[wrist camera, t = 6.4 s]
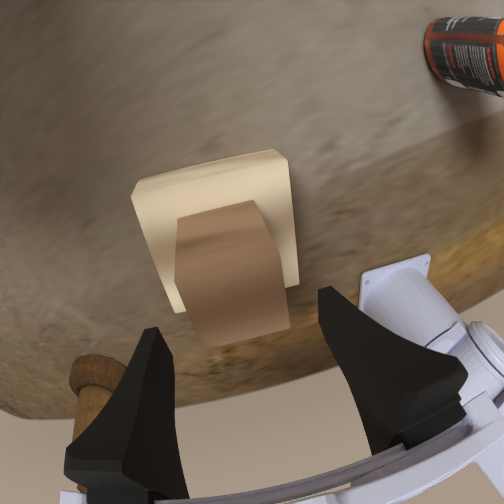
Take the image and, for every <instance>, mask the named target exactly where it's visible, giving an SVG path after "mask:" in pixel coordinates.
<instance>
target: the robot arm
mask: <svg viewBox="0 0 504 504" xmlns="http://www.w3.org/2000/svg"><path fill="white" fill-rule="evenodd" d="M430 259H431V257H430V255H429V254H424V255H420V256H417V257H414V258H411V259H407V260H404V261H401V262H398V263H394V264H391V265H387V266H384V267H381V268H377V269H374V270H370V271H367V272H364V273H363V274H362V276H361V283H360V294H359V304H358V308H357V307H356V306H355V305H353V304H352V303H351V302H350V301H348V300H347V299H346V298H345V297H344V296H342V295H341V294H340V293H339V292H338V291H337V290H335V289H334V288H333V287H332V286H329V287H325V288H322V289H318V321H319V324H320V327H321V329H322V332H323V335H324V337H325V340H326V342H327V344H328V346H329V348H330V349H331V351H332V353H333V355H334V357H335V359H336V361H337V363H338V365H339V366H340V368H341V370H342V372H343V374H344V376H345V378H346V380H347V382H348V384H349V387H350V389H351V392H352V395H353V397H354V400H355V402H356V406H357V408H358V411H359V414H360V417H361V420H362V423H363V426H364V429H365V432H366V436H367V439H368V443H369V446H370V449H371V454H372V456H371V457H368V458H365V459H363V460H360V461H358V462H355V463H352V464H350V465H347V466H344V467H341V468H338V469H335V470H332V471H329V472H326V473H323V474H319V475H316V476H313V477H309V478H306V479H302V480H299V481H295V482H290V483H286V484H282V485H278V486H273V487H269V488H264V489H259V490H253V491H248V492H242V493H236V494H229V495H222V496H215V497H205V498H195V499H190V497H189V494H188V490H187V487H186V483H185V479H184V474H183V470H182V465H181V461H180V456H179V450H178V443H177V436H176V429H175V412H174V411H175V374H174V364H173V355H172V353H171V352H170V350H169V348H168V346H167V344H166V342H165V340H164V338H163V337H162V335H161V333H160V331H159V329H158V327H153V328H148V329H145V330H144V331H143V334H142V336H141V338H140V340H139V343H138V345H137V347H136V349H135V352H134V354H133V356H132V358H131V360H130V362H129V364H128V366H127V368H126V370H125V372H124V374H123V376H122V378H121V380H120V382H119V384H118V385H117V387H116V389H115V391H114V392H113V394H112V395H111V397H110V398H109V400H108V402H107V403H106V404H105V406H104V407H103V409H102V410H101V411H100V413H99V414H98V415H97V416H96V418H95V419H94V420H93V421H92V423H91V424H90V425H89V426H88V427H87V428H86V429H85V430H84V431H83V432H82V433H81V434H80V435H79V436H78V437H77V438H76V439H75V440H74V441H73V442H72V443H71V444H70V445H69V446H68V447H66V453H65V462H64V475H65V476H66V477H67V478H69V479H70V480H72V481H74V482H75V483H77V484H79V485H81V486H83V487H85V488H87V494H85V493H81V492H74V491H66V490H61V491H60V504H275V503H281V502H285V501H289V500H293V499H297V498H301V497H305V496H308V495H312V494H315V493H319V492H322V491H325V490H329V489H332V488H335V487H338V486H341V485H344V484H347V483H349V482H351V484H350V485H351V487H349V488H346V489H342V490H339V491H336V492H332V493H325V494H320V495H316V496H312V497H308V498H304V499H301V500H297V501H293V502H289V503H284V504H399V503H401V502H403V501H405V500H407V499H409V498H411V497H413V496H415V495H417V494H419V493H421V492H423V491H425V490H427V489H428V488H430V487H432V486H433V485H435V484H437V483H439V482H440V481H442V480H444V479H445V478H447V477H449V476H450V475H452V474H454V473H455V472H457V471H458V470H460V469H461V468H463V467H464V466H465V465H467V464H469V463H470V462H476V463H477V464H478V466H479V467H480V468H481V469H482V471H483V472H484V473H485V475H486V476H487V477H488V479H489V480H490V481H491V483H492V484H493V485H494V487H495V488H496V489H497V491H498V492H499V493H500V495H501V496H502V497H503V499H504V341H503V340H502V339H501V338H500V336H498V334H497V333H496V332H495V331H494V330H492V328H490V327H489V326H488V325H487V324H486V323H484V322H482V321H479V322H475V321H473V322H471V324H470V325H469V326H468V325H467V324H466V323H465V322H464V321H463V320H462V318H461V317H460V316H459V315H458V314H457V312H456V311H455V310H454V309H453V308H452V307H451V305H450V304H449V303H448V302H447V301H446V300H445V299H444V297H443V296H442V295H441V294H440V293H439V292H438V291H437V290H436V288H435V287H434V286H433V285H432V284H431V283H430V282H429V281H428V280H427V279H426V277H427V273H428V268H429V264H430ZM352 481H353V482H352Z"/></svg>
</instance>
